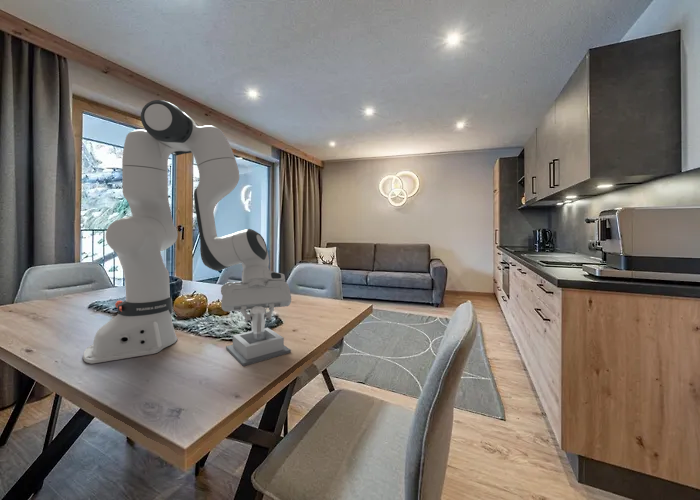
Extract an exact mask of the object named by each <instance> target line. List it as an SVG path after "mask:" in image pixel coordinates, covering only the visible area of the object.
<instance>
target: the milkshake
mask: <svg viewBox="0 0 700 500" xmlns="http://www.w3.org/2000/svg"><path fill="white" fill-rule="evenodd" d="M267 306H268V305H267ZM267 309H268V308H267V307H266V308H264V307H262V306H260V307H258V306H256V307H253V308H252V309H250V310H249V314H250V315H251V322H250V323H251V324H250V325H251V331H252V338H253V339H261V338H263V337H264V329H265V328H266V326H265V324H266V313H267Z"/></svg>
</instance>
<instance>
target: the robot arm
mask: <svg viewBox="0 0 700 500" xmlns="http://www.w3.org/2000/svg"><path fill="white" fill-rule="evenodd" d="M140 120H141V124H142V126H143V128H144V129H136V130H132V131H129V132H128V133H127V134H126V137H125V140H124V145H123V151H122V158H121V159H122V162H121V163H122V165H121V169H122V171H121V172H122V174H121V175H122V177H121V178H122V195H123V197H124V198H125V200H126V201H127V203H128V205H129V209H130V211H131V215H132V216H126V217H122V218H120V219H117V220H115V221H113V222H111V223H110V225H109V226H108V227H107V229H106V231H105V241H106V243H107V245H108V246H109V247H110V248H111V250H113V252H115V254H116V255H117V257H118V260H119V262H120V265H121V268H122V270H123V276H124V286H125V300H117V301H116V302H115V308H116V309H117V315H116V316H114V317H113V318H112V319H110V320H109V321H107V323H105V324H103V325H102V326H101V327H100V328H98V329H97V331H96V332H95V335H94V338H93V343H92V345H89V346H88V347H87V348H85V349H84V351H83V356H82V357H83V361H84V362H85V363H87V364H92V365H93V364H98V363H105V362H111V361H117V360H118V361H119V360H123V359H129V358H136V357H141V356H148V355H153V354H157V353H159V352H161V351H162V350H163V349H165V348H167V347H169V346H171V345H173V344H175V343H176V342H177V340H178V336H177V334H176V332H175V328H174V323H173V319H172V314H173V299H172V296H171V290H170V272H169V270H168V269H167V267H166V266H165V263H164V260H163V257H162V252H163V251H166V250H167V249H169V248H170V247H172V246H173V245H174V244H175V243H176V241H177V240H178V237H179V236H178V235H179V234H178V230H177V227H176V226H175V224H174V221H173V217H172V211H171V205H170V201H169V184H168V183H169V182H168V181H169V180H168V179H169V177H168V176H169V175H168V174H169V173H168V172H169V170H168V162H169V157H170V155H173V156H175V157H176V156H181V155H187V154H192V155H193V158H194V160H195V164H196V166H197V171H198V173H199V174H198V175H199V177H198V178H199V179H198V184H197V186H196V187H195V189H194V193H193V202H194V208H195V214H196V215H195V216H196V221H197V228H198V234H199V244H200V245H199V247H200V250H199V251H200V258H201V261H202V263H203V265H204V266H205V267H207V268H209V269H210V270H214V271H216V272H219V271H223V270H225V269H227V268H229V267H233V266H235V265H240V264H241V266H242V267H241V268H242V271H241V281H235V282H226V283H225V284H222V285H221V287H220V294H221V295H222V296H221V303H220V304H221V309H222V311H224V312H236V311H237V312H238V311H240V312H241V315H242V316H243V317H244V318H245V321H244V322H245V323H251V315H250V313H248V312H247V310H249V311H250V310H251V309H252V308H253V307H256V306H258V307H260V306H262V307H264V308H265V309H266V307H267V309H268V312H266V317H265V321H271V320H272V314H273V312H274V310H275V308H282V307H283V308H285V307H290V305H291V303H292V294H291V290H290V286H289V284H288V282H286V277H285V274H284V273H282V272H281V273H280V272H276V271H272V270H270V268H269V266H270V258H269V251H268V248H267V244H266V241H265V239H264V237H263V236H262V234H260V233H259V232H258V231H256V230H254V229H251V228H247V229H243V230H237V231H235V232H233V233H229V234H225V235H223V236H218V234H217V227H216V222H215V216H214V213H215V208H216V206H217V204H218V203H219V202H220V201H221V200H222V199H223V198H225V197H227V196H228V195H229V194H231V192H232V191H233V190H234V189H235V188H236V187H237V185H238V183H239V180H240V171H239V166H238V163H237V159H236V157H235V154H234V151H233V149H232V147H231V144H230V143H229V141H228V138H227V137H226V135H225V133H224V131H222V130H221V128H219V127H217V126H214V125H203V126H199V125H198V123H197V122H195V121H194V119H193V118H192V117H190V115H189V114H188V113H186V112H184V111H183V110H182V109H180V107H178V106H176V105H175V104H173V103H171V102H169V101H165V100H162V99H154V100H151V101H148V102H147V103H145V105H144V106H143V107H142V109H141V111H140ZM267 305H268V306H267Z"/></svg>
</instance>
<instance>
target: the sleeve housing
mask: <svg viewBox="0 0 700 500" xmlns="http://www.w3.org/2000/svg"><path fill="white" fill-rule="evenodd" d="M284 341H285V337H283V336H281V335H280V334H278V333H277V332H276V331H274V330H272V329H271V328H269V327H265V329H264V337H263V338H261V339H253V338H252V330H250V331H246V332H240V333H237V334H232V344H230V345H226V346H225V349H226V351H228V352H229V354H231V355H232V356H233V358H234V359H235V360H236V361H237V362H238V363H239V364H240V365H242V367H245V366H248V365H252V364H256V363H259V362H262V361H265V360H269V359H273V358H278V357H280V356H283V355H286V354H290V353H291V352H292V349H290V348H289V347H287V346H286V345H285V343H284Z"/></svg>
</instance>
